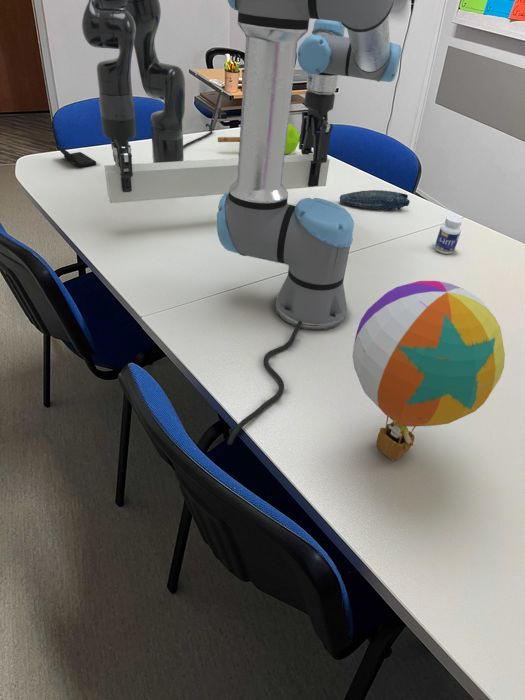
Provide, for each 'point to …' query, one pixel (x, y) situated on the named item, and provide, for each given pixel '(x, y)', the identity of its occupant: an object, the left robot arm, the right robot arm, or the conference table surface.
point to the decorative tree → (290, 141)
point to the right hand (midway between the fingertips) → (308, 181)
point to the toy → (426, 358)
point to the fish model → (376, 199)
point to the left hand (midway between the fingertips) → (125, 186)
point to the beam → (199, 178)
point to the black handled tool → (77, 158)
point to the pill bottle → (448, 235)
